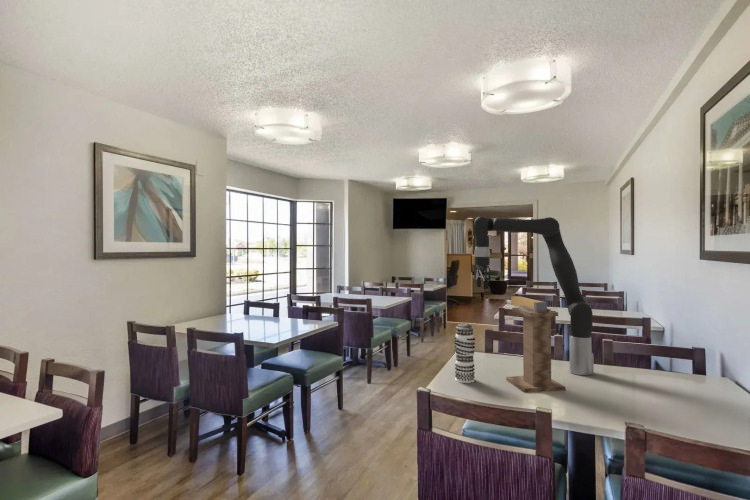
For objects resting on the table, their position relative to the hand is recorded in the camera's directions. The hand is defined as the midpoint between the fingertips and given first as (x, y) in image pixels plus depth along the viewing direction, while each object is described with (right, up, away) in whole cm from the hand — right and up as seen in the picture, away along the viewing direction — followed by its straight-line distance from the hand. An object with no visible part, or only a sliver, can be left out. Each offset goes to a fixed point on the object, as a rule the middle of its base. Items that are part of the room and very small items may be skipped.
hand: (482, 287), depth 209 cm
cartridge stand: (+14, -38, -33) cm, 53 cm away
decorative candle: (-14, -39, -26) cm, 49 cm away
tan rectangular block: (+13, -6, -27) cm, 30 cm away
